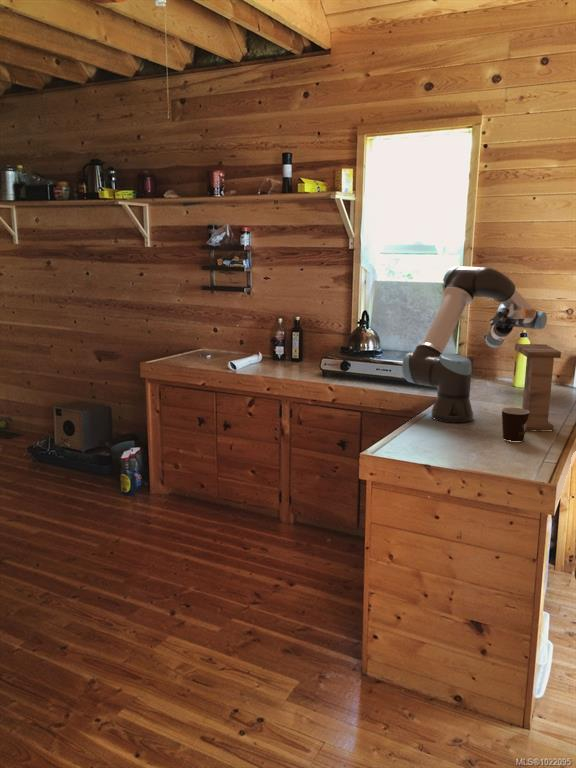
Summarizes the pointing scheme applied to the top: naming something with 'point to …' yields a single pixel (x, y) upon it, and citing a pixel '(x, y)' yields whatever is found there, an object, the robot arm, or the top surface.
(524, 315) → the clear orange-capped tube
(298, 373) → the top surface
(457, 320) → the robot arm
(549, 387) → the shelf post
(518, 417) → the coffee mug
